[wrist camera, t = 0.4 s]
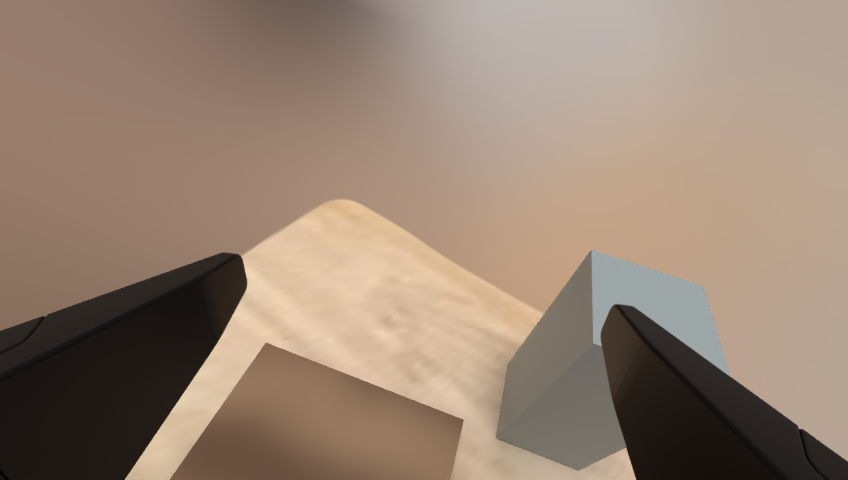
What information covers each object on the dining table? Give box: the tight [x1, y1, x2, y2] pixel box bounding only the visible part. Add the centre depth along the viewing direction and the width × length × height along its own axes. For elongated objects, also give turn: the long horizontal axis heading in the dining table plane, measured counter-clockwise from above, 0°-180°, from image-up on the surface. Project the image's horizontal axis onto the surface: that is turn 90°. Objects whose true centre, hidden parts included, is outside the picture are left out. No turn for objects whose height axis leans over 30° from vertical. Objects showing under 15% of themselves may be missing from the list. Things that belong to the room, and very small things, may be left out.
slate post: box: [496, 250, 730, 470], centre depth 19 cm, size 5×5×12 cm
